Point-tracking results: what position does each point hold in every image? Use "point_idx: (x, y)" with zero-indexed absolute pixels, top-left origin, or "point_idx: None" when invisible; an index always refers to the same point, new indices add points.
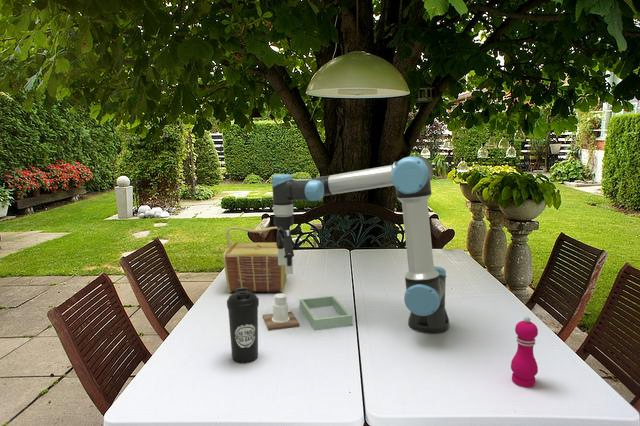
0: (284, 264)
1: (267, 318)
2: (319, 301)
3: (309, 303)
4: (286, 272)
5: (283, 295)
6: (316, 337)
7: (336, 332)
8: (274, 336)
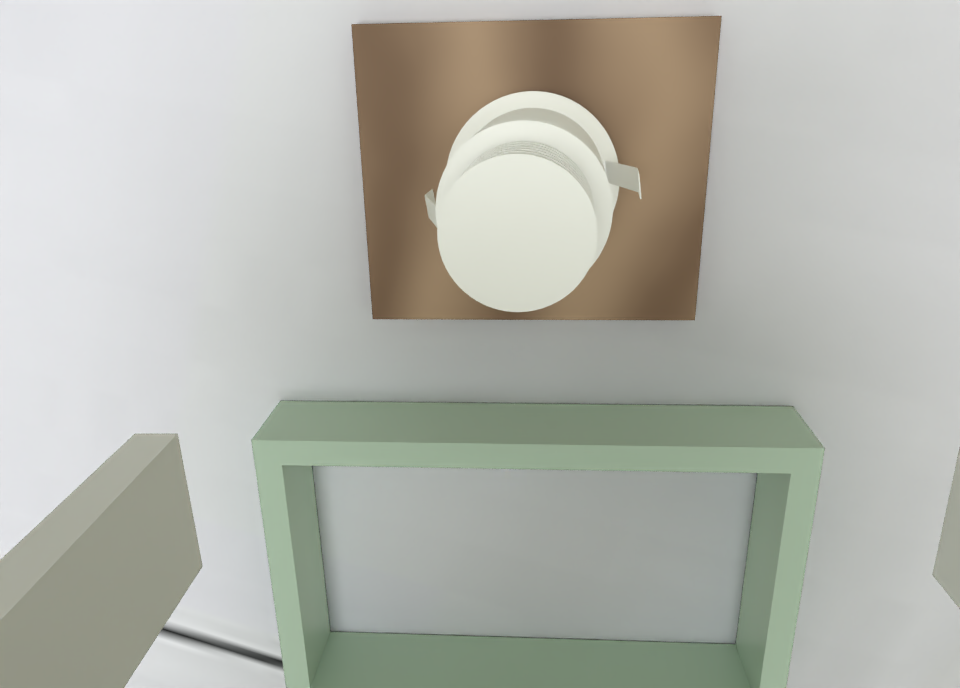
0: (941, 565)
1: (597, 53)
2: (760, 591)
3: (768, 506)
4: (115, 467)
5: (510, 275)
6: (152, 381)
7: (216, 527)
8: (221, 60)
